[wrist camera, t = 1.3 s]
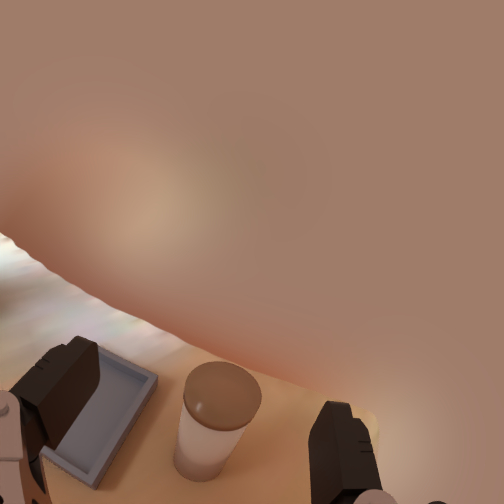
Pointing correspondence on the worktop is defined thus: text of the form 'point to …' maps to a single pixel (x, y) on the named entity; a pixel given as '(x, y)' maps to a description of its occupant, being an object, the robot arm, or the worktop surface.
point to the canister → (213, 418)
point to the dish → (104, 420)
